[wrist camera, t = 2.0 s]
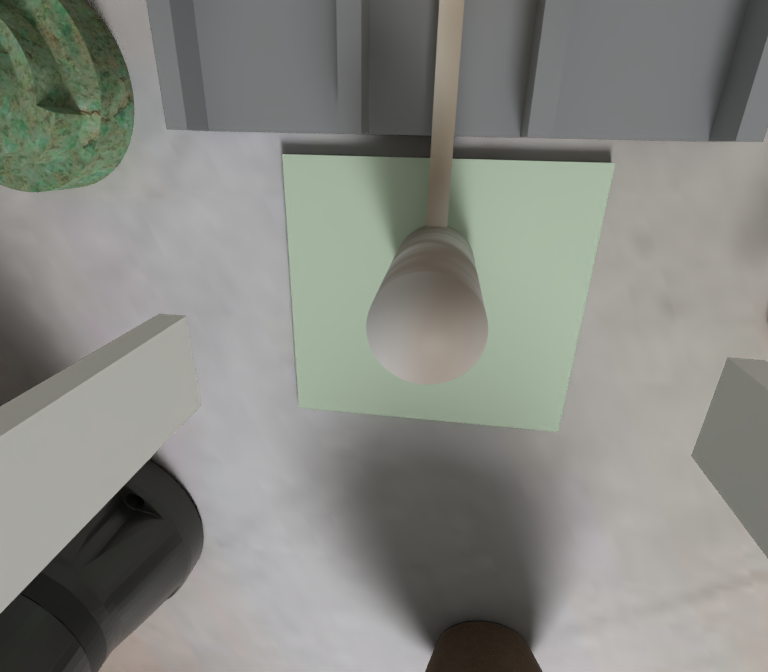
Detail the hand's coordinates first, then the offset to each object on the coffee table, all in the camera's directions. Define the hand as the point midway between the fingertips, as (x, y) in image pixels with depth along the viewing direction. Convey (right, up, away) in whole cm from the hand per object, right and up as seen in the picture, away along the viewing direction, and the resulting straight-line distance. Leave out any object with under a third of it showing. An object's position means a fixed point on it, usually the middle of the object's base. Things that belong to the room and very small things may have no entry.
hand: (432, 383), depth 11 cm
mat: (+1, +3, +14) cm, 14 cm away
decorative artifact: (-19, +14, +12) cm, 27 cm away
